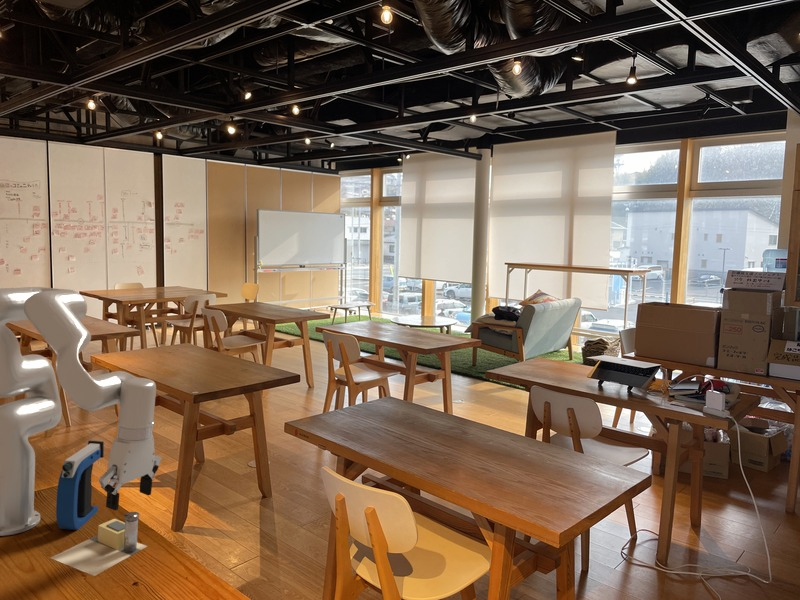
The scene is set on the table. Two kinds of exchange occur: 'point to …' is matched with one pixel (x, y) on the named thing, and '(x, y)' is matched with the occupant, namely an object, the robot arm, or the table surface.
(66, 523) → the handheld scanner
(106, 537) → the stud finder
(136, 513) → the steel pin
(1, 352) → the robot arm
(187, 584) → the table surface
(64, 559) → the white square mat
